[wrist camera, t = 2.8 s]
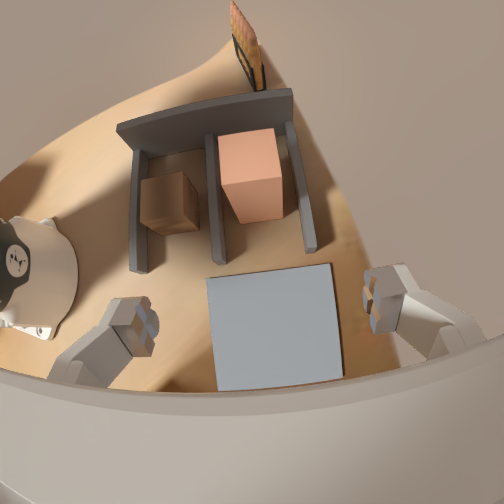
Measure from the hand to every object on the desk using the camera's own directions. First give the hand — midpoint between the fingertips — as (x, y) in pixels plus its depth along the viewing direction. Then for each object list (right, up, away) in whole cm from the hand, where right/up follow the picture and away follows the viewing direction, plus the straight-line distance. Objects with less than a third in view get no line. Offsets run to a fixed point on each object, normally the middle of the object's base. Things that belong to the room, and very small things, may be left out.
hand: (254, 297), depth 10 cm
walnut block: (-9, +6, +25) cm, 27 cm away
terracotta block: (+1, +8, +24) cm, 25 cm away
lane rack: (-4, +8, +25) cm, 26 cm away
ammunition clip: (0, +30, +29) cm, 42 cm away
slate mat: (+2, -7, +21) cm, 22 cm away
